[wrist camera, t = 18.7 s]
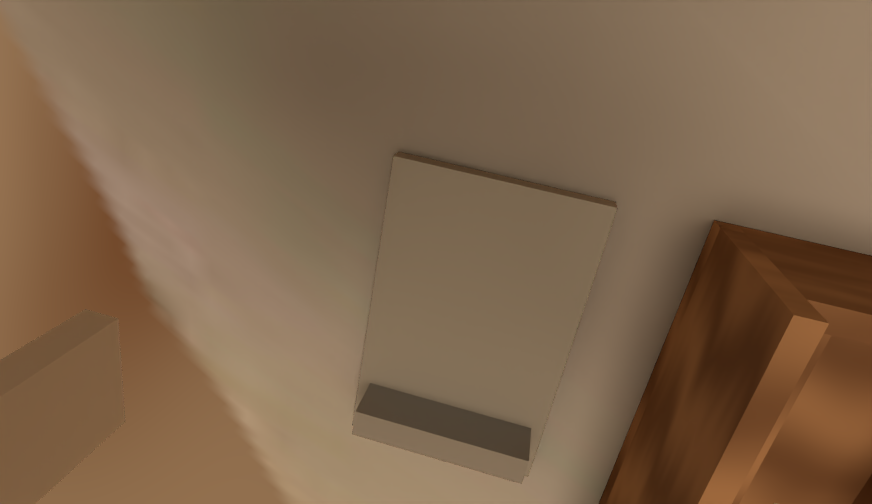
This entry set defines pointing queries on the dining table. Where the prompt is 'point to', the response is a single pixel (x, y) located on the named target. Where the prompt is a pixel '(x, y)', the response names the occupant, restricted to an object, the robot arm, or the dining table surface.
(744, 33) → the dining table surface
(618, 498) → the walnut box
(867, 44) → the dining table surface
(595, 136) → the dining table surface
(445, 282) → the slate lid
